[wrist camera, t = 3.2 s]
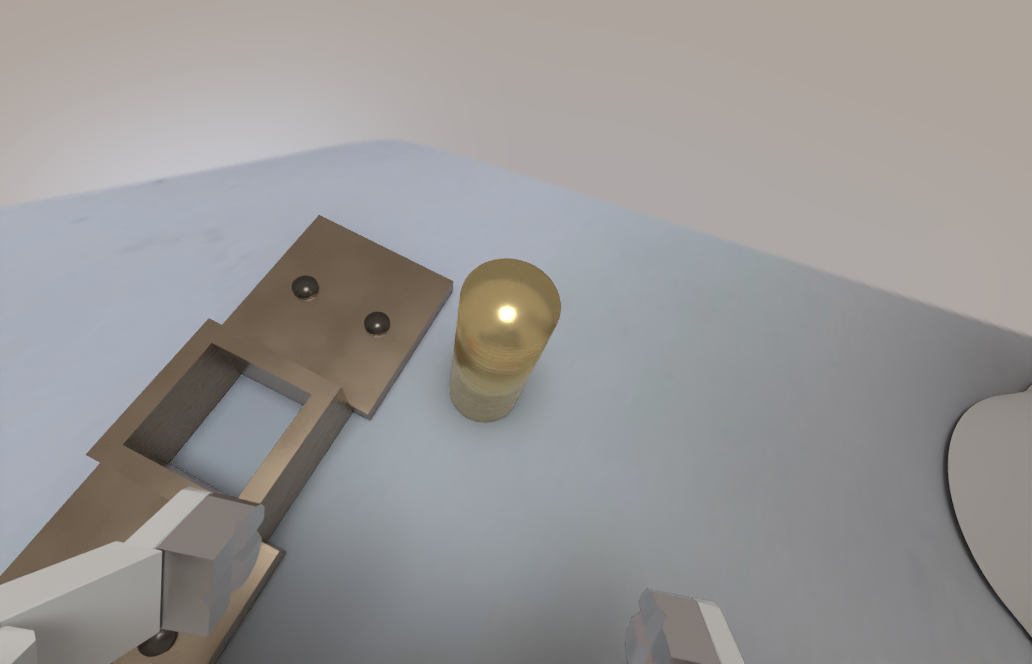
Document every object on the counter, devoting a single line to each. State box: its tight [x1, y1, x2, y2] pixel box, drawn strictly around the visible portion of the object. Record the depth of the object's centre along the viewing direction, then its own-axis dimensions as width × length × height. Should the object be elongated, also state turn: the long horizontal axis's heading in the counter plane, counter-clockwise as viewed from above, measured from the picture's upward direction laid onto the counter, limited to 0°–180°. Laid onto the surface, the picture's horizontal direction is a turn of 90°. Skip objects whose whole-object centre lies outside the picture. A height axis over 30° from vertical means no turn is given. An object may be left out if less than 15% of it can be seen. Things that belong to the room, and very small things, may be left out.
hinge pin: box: [450, 259, 561, 422], centre depth 20 cm, size 3×3×9 cm
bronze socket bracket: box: [0, 215, 453, 664], centre depth 20 cm, size 8×22×4 cm, turn 155°
